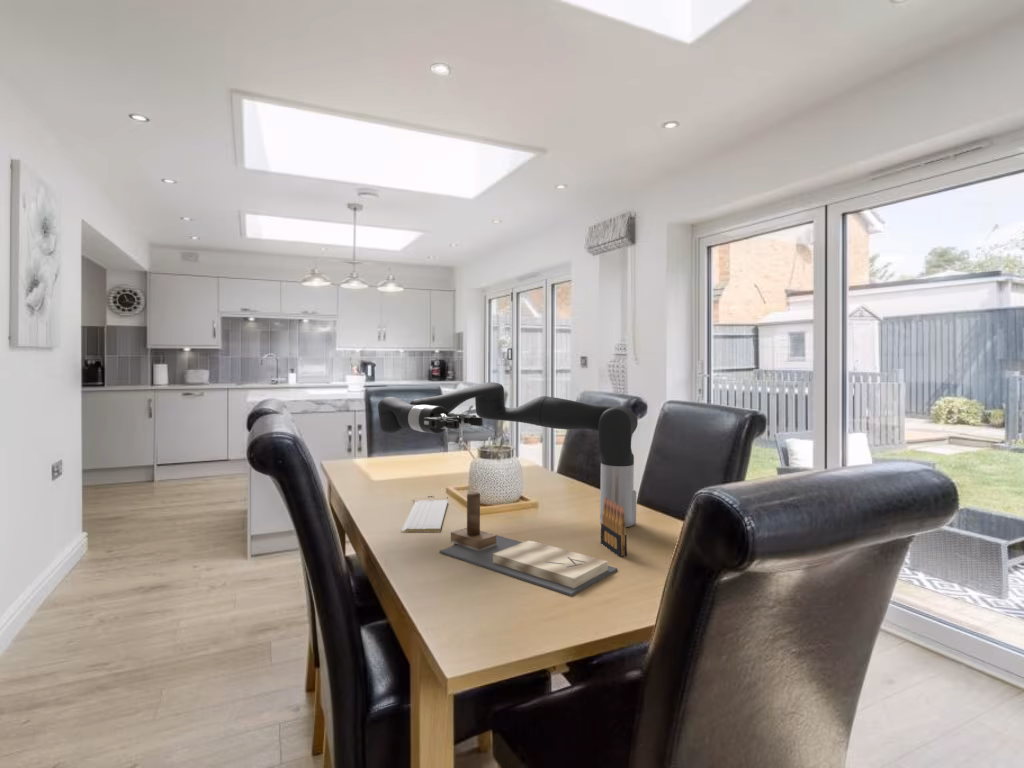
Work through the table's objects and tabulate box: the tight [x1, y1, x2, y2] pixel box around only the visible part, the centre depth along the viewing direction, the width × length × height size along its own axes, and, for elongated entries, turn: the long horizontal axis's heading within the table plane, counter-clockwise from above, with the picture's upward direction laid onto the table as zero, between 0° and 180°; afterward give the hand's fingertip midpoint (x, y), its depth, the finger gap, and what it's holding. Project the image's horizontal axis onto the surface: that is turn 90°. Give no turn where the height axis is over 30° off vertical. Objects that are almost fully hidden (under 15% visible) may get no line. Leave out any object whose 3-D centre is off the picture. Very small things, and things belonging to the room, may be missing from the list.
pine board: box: [493, 539, 609, 588], centre depth 124 cm, size 22×13×2 cm, turn 50°
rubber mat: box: [439, 532, 618, 597], centre depth 129 cm, size 38×18×1 cm, turn 50°
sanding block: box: [450, 492, 497, 551], centre depth 139 cm, size 10×6×12 cm, turn 49°
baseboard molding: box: [400, 495, 449, 533], centre depth 166 cm, size 31×3×12 cm
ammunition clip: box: [600, 497, 628, 558], centre depth 137 cm, size 11×2×12 cm, turn 16°
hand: (470, 423), depth 144 cm, fingers open, 8 cm apart
